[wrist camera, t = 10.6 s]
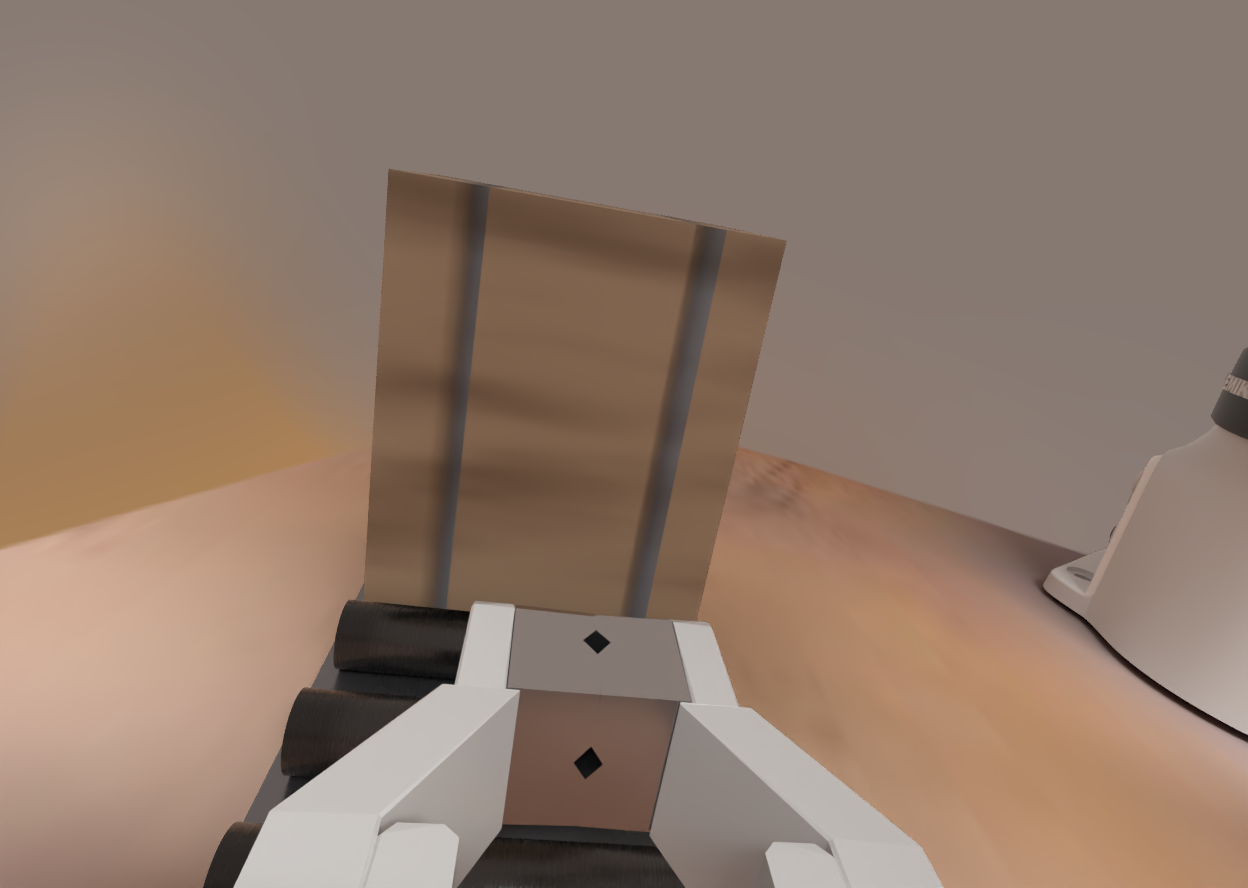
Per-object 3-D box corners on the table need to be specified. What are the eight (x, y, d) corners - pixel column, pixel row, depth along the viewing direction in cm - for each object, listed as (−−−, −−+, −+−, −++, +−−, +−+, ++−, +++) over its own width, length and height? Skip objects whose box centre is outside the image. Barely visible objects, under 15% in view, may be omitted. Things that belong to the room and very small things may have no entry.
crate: (693, 633, 22) (786, 240, 18) (363, 600, 21) (388, 169, 17) (659, 520, 29) (721, 226, 26) (416, 491, 28) (442, 175, 24)
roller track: (815, 1144, 13) (914, 907, 11) (104, 1144, 11) (74, 866, 9) (658, 553, 34) (683, 436, 32) (402, 523, 32) (412, 398, 30)
